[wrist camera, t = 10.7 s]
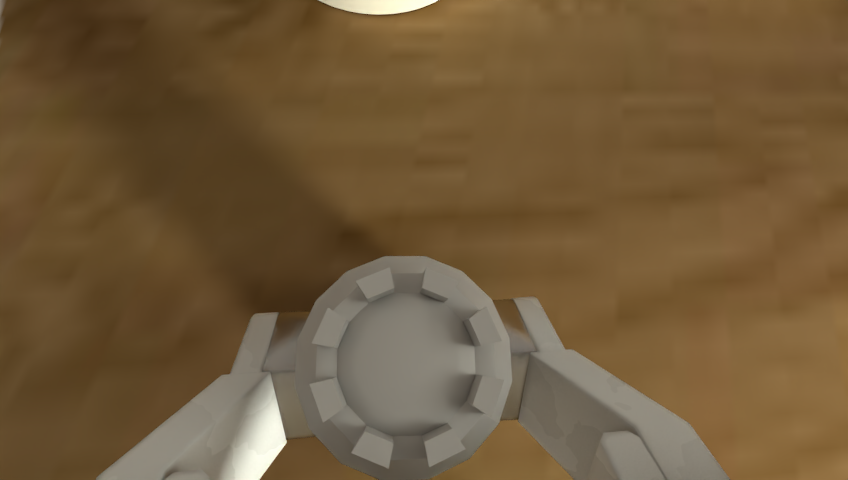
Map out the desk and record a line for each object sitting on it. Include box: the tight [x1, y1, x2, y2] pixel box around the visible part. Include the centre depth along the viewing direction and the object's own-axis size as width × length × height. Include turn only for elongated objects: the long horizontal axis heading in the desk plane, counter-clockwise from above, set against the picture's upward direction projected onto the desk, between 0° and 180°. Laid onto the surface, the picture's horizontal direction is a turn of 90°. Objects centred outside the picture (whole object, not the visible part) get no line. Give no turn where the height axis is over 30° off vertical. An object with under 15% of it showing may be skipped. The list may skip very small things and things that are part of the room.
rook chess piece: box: [295, 256, 512, 480], centre depth 9 cm, size 4×4×8 cm
